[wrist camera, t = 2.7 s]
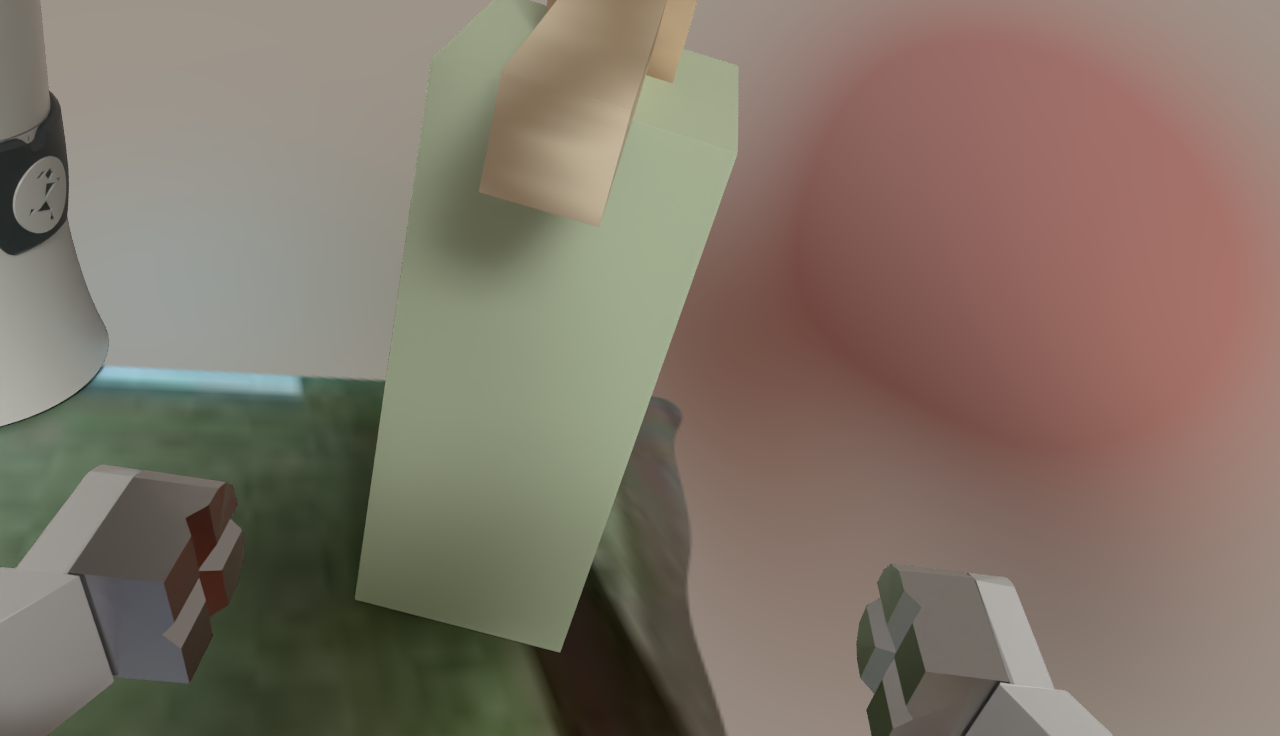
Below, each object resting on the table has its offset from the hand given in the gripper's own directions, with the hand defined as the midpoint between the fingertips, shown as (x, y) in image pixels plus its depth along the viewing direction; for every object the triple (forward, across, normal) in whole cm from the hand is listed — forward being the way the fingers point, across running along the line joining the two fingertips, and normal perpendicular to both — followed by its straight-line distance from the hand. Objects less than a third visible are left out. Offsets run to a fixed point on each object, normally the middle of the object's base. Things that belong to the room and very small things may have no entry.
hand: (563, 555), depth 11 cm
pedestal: (+24, +4, +28) cm, 37 cm away
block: (+21, +1, +2) cm, 21 cm away
